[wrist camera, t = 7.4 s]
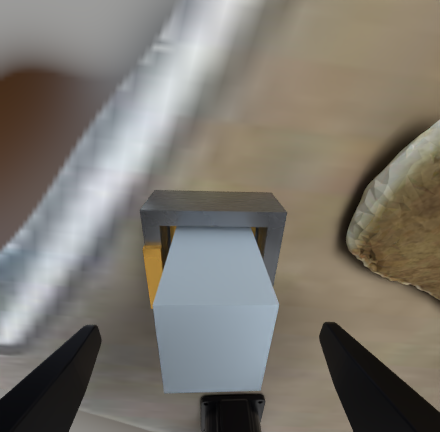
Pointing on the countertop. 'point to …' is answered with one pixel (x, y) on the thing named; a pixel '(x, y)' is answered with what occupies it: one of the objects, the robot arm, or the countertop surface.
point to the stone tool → (403, 217)
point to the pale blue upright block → (214, 311)
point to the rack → (209, 224)
